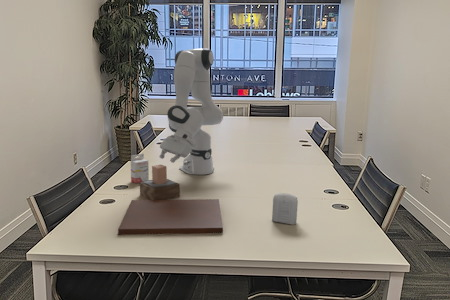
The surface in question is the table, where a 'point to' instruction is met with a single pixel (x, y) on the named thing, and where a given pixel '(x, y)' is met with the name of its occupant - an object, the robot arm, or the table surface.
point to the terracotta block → (159, 174)
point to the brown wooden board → (172, 217)
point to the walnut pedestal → (159, 190)
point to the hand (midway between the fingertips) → (166, 159)
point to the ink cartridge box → (139, 169)
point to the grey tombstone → (285, 208)
